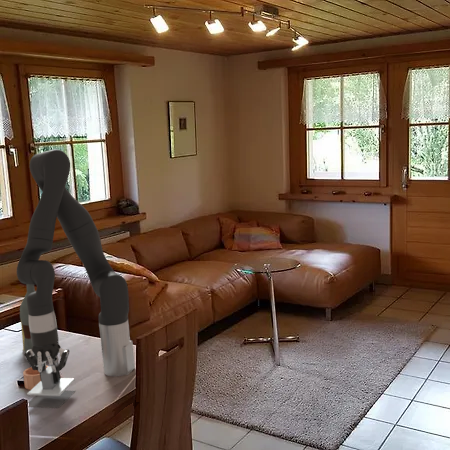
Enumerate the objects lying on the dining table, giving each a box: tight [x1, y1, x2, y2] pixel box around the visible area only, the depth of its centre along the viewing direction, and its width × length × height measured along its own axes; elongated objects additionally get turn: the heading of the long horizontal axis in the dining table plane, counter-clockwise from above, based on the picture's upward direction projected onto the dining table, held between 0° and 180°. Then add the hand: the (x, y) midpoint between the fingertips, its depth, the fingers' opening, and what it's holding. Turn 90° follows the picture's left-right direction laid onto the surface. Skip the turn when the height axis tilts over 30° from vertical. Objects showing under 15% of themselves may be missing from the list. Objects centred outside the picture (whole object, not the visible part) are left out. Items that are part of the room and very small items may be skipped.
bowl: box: [22, 364, 49, 391], centre depth 185 cm, size 8×8×5 cm
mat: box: [27, 389, 76, 409], centre depth 175 cm, size 11×11×1 cm
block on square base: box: [26, 365, 76, 396], centre depth 173 cm, size 10×10×6 cm
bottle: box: [19, 284, 38, 364], centre depth 204 cm, size 9×9×30 cm
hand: (50, 382), depth 173 cm, fingers closed on block on square base, 3 cm apart
